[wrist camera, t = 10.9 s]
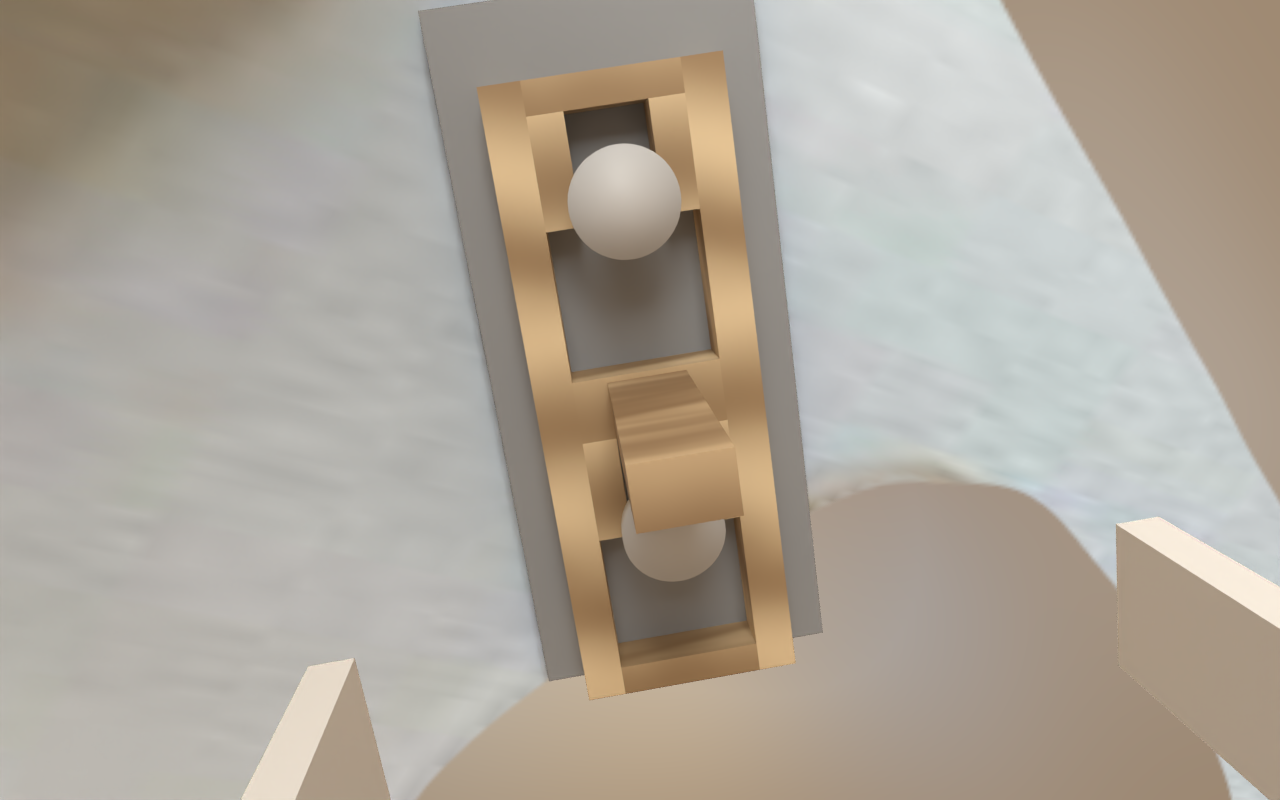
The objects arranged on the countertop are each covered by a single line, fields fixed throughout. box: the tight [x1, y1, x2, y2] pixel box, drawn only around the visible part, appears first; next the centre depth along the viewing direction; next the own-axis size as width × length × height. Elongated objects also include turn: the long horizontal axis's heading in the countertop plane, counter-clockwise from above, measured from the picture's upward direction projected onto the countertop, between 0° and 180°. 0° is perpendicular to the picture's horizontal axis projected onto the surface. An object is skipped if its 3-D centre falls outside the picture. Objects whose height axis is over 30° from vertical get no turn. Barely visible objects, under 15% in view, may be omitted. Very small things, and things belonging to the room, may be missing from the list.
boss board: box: [418, 0, 823, 681], centre depth 35 cm, size 27×12×5 cm, turn 8°
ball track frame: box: [476, 50, 795, 700], centre depth 31 cm, size 24×9×12 cm, turn 8°
